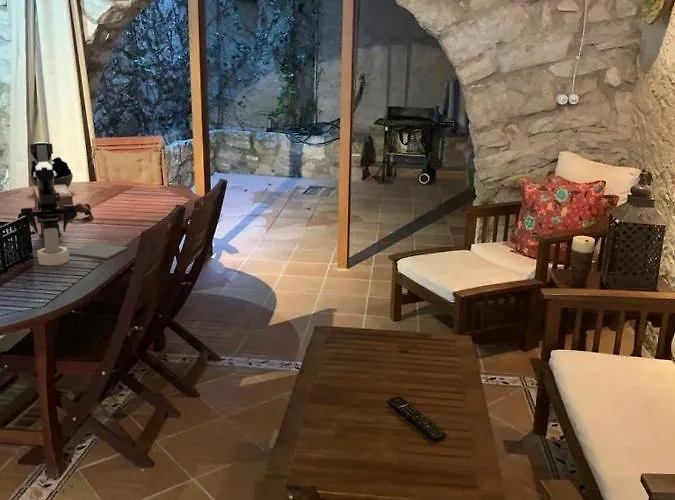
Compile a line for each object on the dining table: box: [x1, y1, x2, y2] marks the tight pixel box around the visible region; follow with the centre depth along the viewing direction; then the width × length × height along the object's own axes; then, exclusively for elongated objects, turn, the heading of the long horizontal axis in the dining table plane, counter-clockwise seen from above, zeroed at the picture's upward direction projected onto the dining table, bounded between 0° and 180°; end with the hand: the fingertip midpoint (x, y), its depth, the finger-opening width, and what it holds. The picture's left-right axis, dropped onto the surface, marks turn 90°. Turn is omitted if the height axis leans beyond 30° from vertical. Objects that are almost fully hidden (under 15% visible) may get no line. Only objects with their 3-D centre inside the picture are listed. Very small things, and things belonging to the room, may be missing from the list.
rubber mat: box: [69, 242, 128, 260], centre depth 261 cm, size 16×14×1 cm
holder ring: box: [36, 246, 70, 267], centre depth 249 cm, size 10×10×4 cm
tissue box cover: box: [32, 185, 74, 219], centre depth 316 cm, size 26×14×10 cm, turn 28°
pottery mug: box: [72, 202, 94, 221], centre depth 306 cm, size 12×10×8 cm
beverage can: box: [43, 228, 61, 254], centre depth 248 cm, size 5×5×12 cm
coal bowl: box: [30, 157, 74, 189], centre depth 347 cm, size 20×20×19 cm
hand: (50, 232), depth 249 cm, fingers open, 9 cm apart
